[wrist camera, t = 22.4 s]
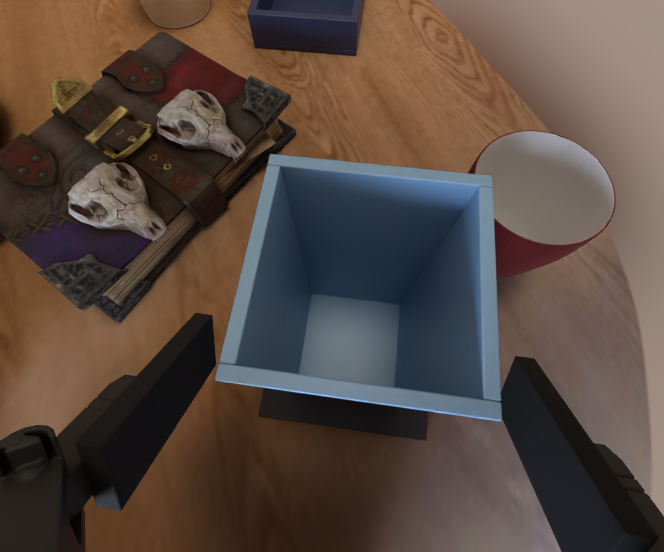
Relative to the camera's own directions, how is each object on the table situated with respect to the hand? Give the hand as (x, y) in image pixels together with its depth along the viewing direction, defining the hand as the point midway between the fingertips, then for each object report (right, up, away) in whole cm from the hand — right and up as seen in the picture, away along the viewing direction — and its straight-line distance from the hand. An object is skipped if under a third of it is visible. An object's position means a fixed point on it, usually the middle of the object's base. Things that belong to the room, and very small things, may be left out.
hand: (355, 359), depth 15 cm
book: (-18, +13, +18) cm, 29 cm away
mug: (+13, +6, +14) cm, 20 cm away
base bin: (-3, +35, +25) cm, 43 cm away
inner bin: (0, -2, +11) cm, 11 cm away
